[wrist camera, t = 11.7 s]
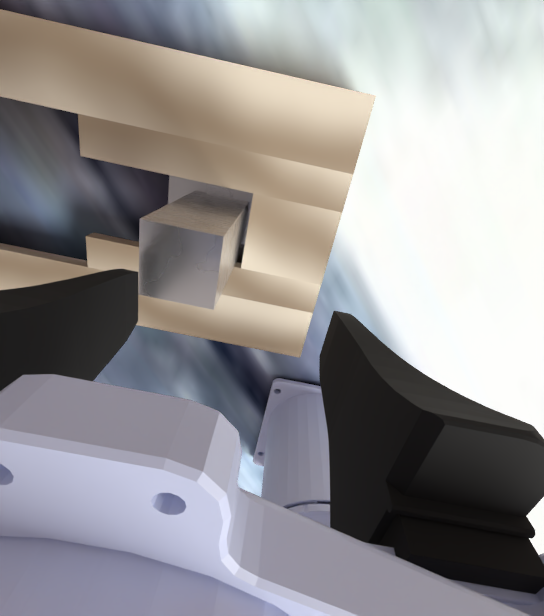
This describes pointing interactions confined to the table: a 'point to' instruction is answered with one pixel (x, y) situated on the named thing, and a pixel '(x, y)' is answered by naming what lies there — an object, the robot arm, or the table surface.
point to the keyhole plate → (198, 166)
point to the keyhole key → (193, 242)
